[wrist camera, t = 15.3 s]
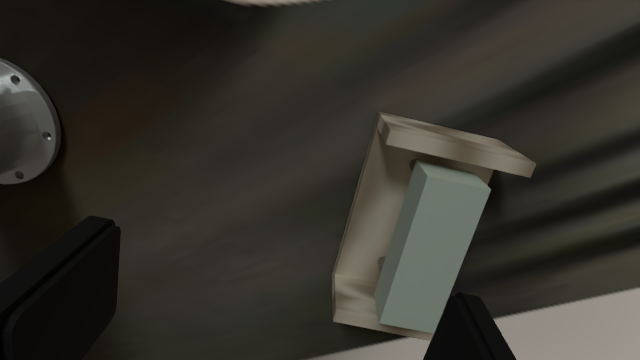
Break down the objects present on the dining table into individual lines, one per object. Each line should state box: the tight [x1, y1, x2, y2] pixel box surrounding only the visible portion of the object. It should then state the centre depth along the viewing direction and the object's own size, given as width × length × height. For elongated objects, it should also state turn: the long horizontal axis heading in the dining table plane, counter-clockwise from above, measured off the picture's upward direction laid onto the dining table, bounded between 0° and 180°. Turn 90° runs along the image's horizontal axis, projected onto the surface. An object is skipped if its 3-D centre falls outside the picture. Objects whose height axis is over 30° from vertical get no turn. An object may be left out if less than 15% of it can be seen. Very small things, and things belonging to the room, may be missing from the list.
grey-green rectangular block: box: [374, 160, 491, 333], centre depth 34 cm, size 14×5×4 cm, turn 168°
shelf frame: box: [332, 112, 536, 341], centre depth 37 cm, size 12×19×8 cm, turn 167°
